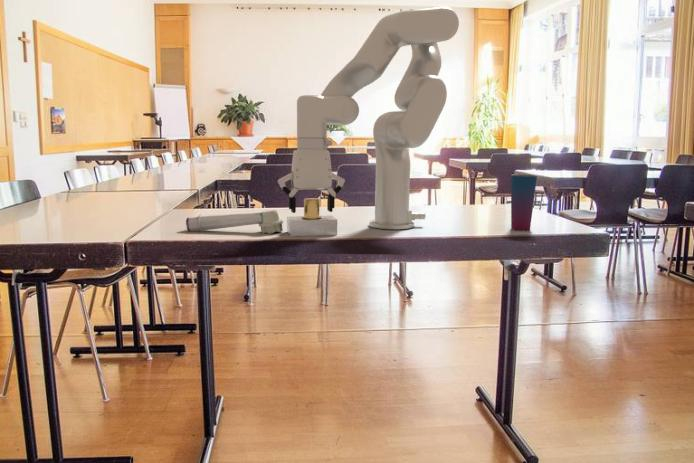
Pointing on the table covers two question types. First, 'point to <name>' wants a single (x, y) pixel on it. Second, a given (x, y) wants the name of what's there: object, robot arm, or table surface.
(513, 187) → the cup
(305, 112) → the robot arm
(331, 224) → the block
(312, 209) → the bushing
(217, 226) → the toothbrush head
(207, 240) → the table surface
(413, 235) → the table surface
